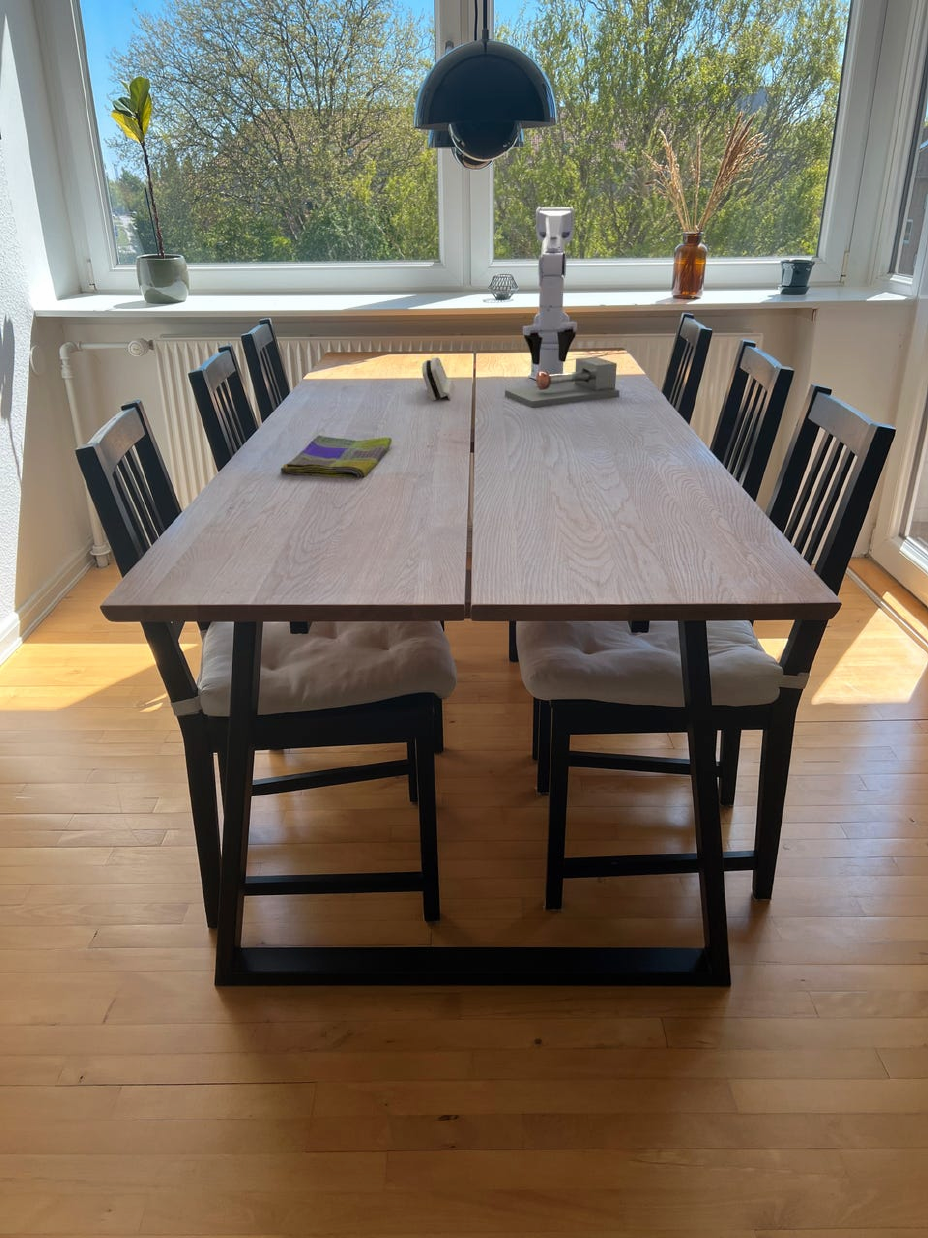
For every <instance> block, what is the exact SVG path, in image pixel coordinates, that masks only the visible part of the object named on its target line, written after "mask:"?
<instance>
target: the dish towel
mask: <svg viewBox="0 0 928 1238" xmlns="http://www.w3.org/2000/svg"><path fill="white" fill-rule="evenodd" d="M392 441H393V440H392V438H391V437H379V438H372V439H370V438H369V439H365V440H354V439H353V440H352V439H347V438H337V437H330V436H324V435H321V434H319V435H317V436H316V437H315V438H314V439H313V440H312V441H310V443H309V444H308V445H307V446H306V447H305V448H304V449H303V450H302V451H300V452H299V454H297V455H296V456H295V457H294V458H293V459H292V460H290V461H289V462H288V463H286V464H284V465H283V466H282V467H281V468H280V472H282V473H286V474H293V473H300V474H299V475H305V474H312V475H311V476H319V475H322V477H323V476H324V477H331V478H343V479H362V478H365V477H366V475H369V473H370V472H372V470H374V469H375V467H376V466H377V465H379V463H380V462H381V461H382V459H383V458H384V456H385V455H386V453H387V452H388V450H389V448H390V446H391V444H392Z"/></svg>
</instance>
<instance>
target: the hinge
mask: <svg viewBox="0 0 928 1238" xmlns="http://www.w3.org/2000/svg"><path fill="white" fill-rule="evenodd" d="M421 370H422V377H423V381H424V383H425V386H426V389H427V391H428V394H429V397H430V400H431V401H435V400H437V398H443V397H447V398H448V401H452V399H453V398H452V397H453V393H454V389H455V384H454V381H453V380H452V379H451V378H449V377H448V376H447V374H446V372H445V369H444V367H443V365H442V361H441V359H440V358H439V357H432V358H431V359H427V360H425V361H424V362H423V363H422V366H421Z"/></svg>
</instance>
